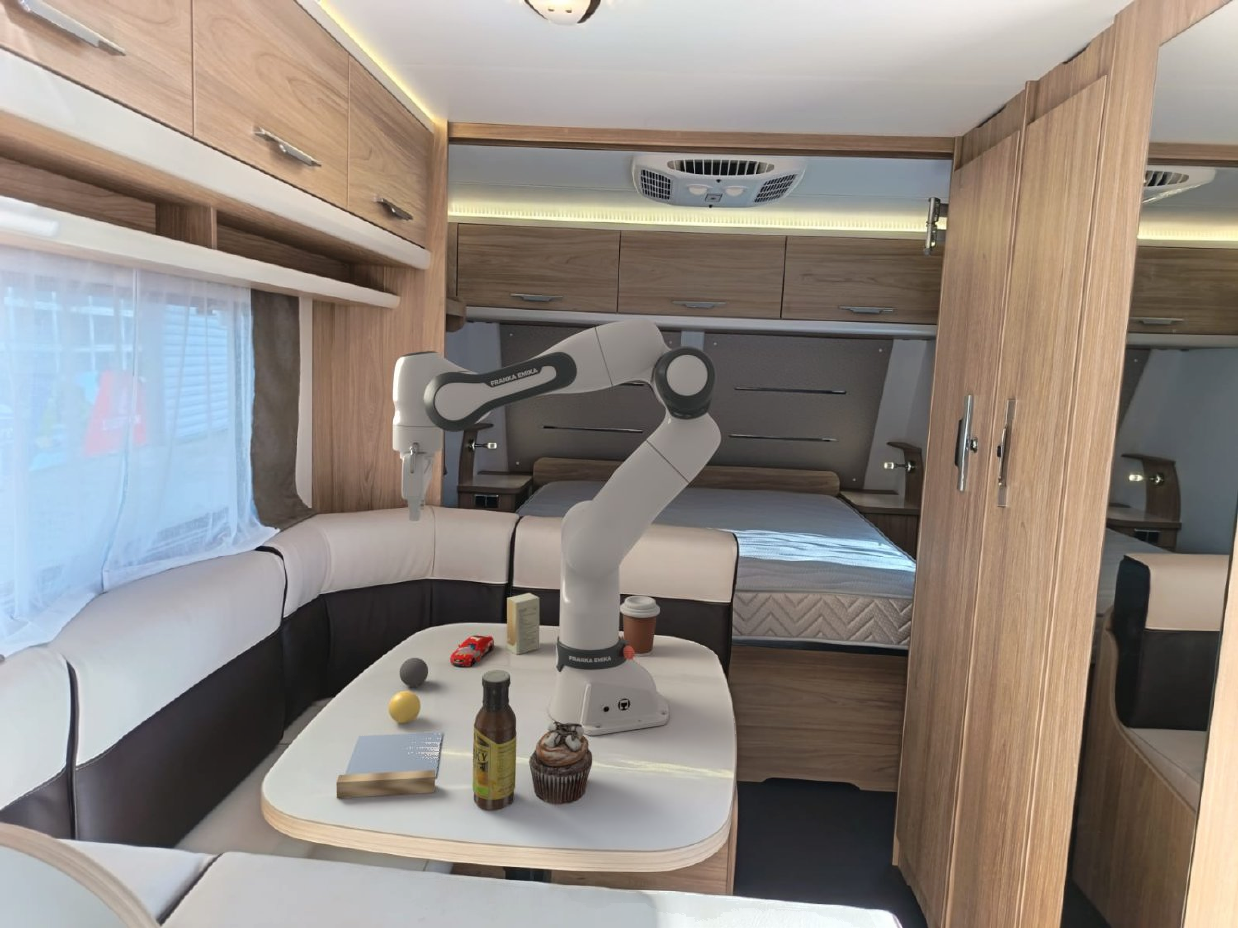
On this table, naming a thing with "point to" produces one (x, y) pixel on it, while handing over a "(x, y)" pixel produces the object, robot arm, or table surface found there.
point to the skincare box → (522, 623)
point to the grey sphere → (413, 672)
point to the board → (393, 753)
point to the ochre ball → (404, 707)
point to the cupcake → (561, 764)
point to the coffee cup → (639, 623)
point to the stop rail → (385, 783)
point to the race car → (472, 650)
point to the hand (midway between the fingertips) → (417, 514)
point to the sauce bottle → (494, 744)
